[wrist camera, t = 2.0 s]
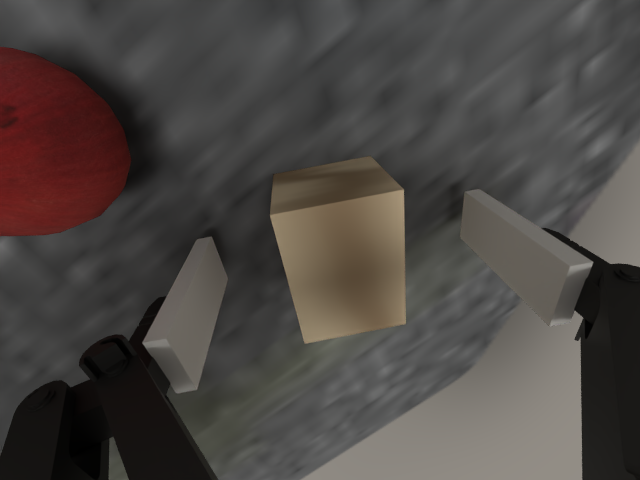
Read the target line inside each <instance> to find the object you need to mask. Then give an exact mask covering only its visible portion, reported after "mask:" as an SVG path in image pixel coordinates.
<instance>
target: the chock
mask: <svg viewBox="0 0 640 480" xmlns="http://www.w3.org/2000/svg"><path fill="white" fill-rule="evenodd" d="M270 217H271V221H272V225H273V228H274V232H275V236H276V240H277V243H278V247H279V251H280V254H281V258H282V262H283V265H284V269H285V273H286V276H287V280H288V284H289V287H290V291H291V295H292V298H293V302H294V306H295V309H296V313H297V317H298V321H299V324H300V328H301V332H302V335H303V339H304V343H305V344H307V343H312V342H317V341H322V340H327V339H332V338H337V337H342V336H347V335H352V334H357V333H362V332H368V331H373V330H378V329H383V328H388V327H393V326H398V325H403V324H406V297H405V231H404V189H403V188H402V187H401V186H400V185H399V184H398V183H397V182H396V181H395V180H394V179H393V178H392V177H391V176H390V175H389V174H388V173H387V172H386V171H385V170H384V169H383V168H382V167H381V166H380V165H379V164H378V163H377V162H376V161H375V160H374V159H373V158H372V157H371V156H367V157H362V158H357V159H351V160H346V161H341V162H336V163H330V164H325V165H320V166H314V167H309V168H304V169H299V170H293V171H288V172H283V173H277V174H273V186H272V197H271V208H270Z"/></svg>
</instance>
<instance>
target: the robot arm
mask: <svg viewBox="0 0 640 480" xmlns="http://www.w3.org/2000/svg"><path fill="white" fill-rule="evenodd" d="M460 238H461V239H462V240H463V241H464V242H465V243H466V244H467V245H468V246H469V247H470V248H471V249H472V250H473V251H474V252H475V253H476V254H477V255H478V256H479V257H480V258H481V259H482V260H483V261H484V262H485V263H486V264H487V265H488V266H489V267H490V268H491V269H492V270H493V271H494V272H495V273H496V274H497V275H498V276H499V277H500V278H501V279H502V280H503V281H504V282H505V283H506V284H507V285H508V286H509V287H510V288H511V289H512V290H513V291H514V292H515V293H516V294H517V295H518V296H519V297H520V298H521V299H522V300H523V301H524V302H525V303H526V304H527V305H528V306H529V307H530V308H531V309H532V310H533V311H534V312H535V313H536V314H537V315H538V316H539V317H541V319H542V320H543V321H544V322H545V323H546V324H547V325H548V326H555V325H561V324H566V323H570V321H571V318H572V316H573V313H574V311H576V312H578V313H579V314H580V315H581V316H582V317H583V320H582V323H581V325H580V327H579V330H578V332H577V335H576V337H575V340H577V341H578V340H579V339H580V337H581V397H582V398H581V401H582V402H581V404H582V479H583V480H640V267H637V266H632V265H628V264H609V263H608V262H606V261H604V260H603V259H601V258H600V257H598V256H596V255H595V254H593V253H591V252H590V251H588V250H587V249H585V248H583V247H582V246H579V245H578V244H577V243H575V242H573V241H570V239H569V238H567V237H565V236H564V235H562V234H560V233H559V232H556V231H553V230H550V229H547V228H540V227H538V226H537V225H535V224H533V223H532V222H530V221H529V220H527V219H526V218H524V217H522V216H521V215H519V214H518V213H516V212H515V211H513V210H512V209H510V208H508V207H507V206H505V205H504V204H502V203H501V202H499V201H497V200H496V199H494V198H493V197H491V196H490V195H488V194H487V193H485V192H483V191H482V190H480V189H476V190H470V191H465V193H464V202H463V212H462V222H461V231H460ZM227 281H228V277H227V274H226V272H225V269H224V267H223V264H222V262H221V259H220V257H219V254H218V251H217V249H216V246H215V244H214V241H213V239H212V237H206V238H201V239H197V240H196V242H195V244H194V246H193V247H192V249H191V251H190V253H189V255H188V257H187V259H186V261H185V263H184V265H183V266H182V268H181V270H180V272H179V274H178V276H177V278H176V280H175V282H174V284H173V285H172V287H171V289H170V291H169V293H168V295H167V296H165V297H159V298H158V299H157V300H156V301H154V302H153V303H152V304H151V305H150V306H149V308H148V309H147V311H146V313H145V314H144V316H143V317H144V318H142V320H141V321H140V323H139V326H138V327H137V328H136V330H135V332H134V333H133V335H132V337H131V339H130V340H129V342H128V340H127V339H126V337H124V336H123V335H112V336H108V337H106V338H103V339H101V340H99V341H98V342H96V343H95V344H93V345H92V346H90V347H89V348H88V349H87V350H86V351H85V352H84V353H83V355H82V357H81V358H80V360H79V366H80V368H81V369H82V370H83V371H84V372H85V373H86V374H87V376H88V377H89V378H90V380H88V381H85V382H83V383H81V384H78V385H76V386H73V387H71V388H70V387H69V386H68V385H67V384H66V383H65V382H63V381H62V380H60V381H53V382H50V383H47V384H45V385H43V386H41V387H39V388H38V389H36V390H35V391H33V392H32V393H31V394H29V395H28V396H27V397H26V398H25V399H24V400H23V401H22V402H21V403H20V405H19V406H18V408H17V409H16V411H15V413H14V416H13V419H12V422H11V425H10V428H9V432H8V435H7V438H6V441H5V444H4V447H3V450H2V453H1V456H0V480H108V473H109V438H111V437H114V439H115V442H116V445H117V448H118V450H119V453H120V456H121V459H122V461H123V464H124V467H125V470H126V472H127V475H128V478H129V480H218V478H217V477H216V475H215V474H214V472H213V470H212V469H211V467H210V465H209V464H208V462H207V460H206V459H205V457H204V456H203V454H202V452H201V451H200V449H199V447H198V446H197V444H196V442H195V441H194V439H193V438H192V436H191V434H190V433H189V431H188V429H187V428H186V426H185V424H184V423H183V421H182V420H181V418H180V416H179V415H178V413H177V411H176V410H175V408H174V406H173V405H172V403H171V402H170V400H169V398H168V397H167V396H166V393H167V391H168V388H169V385H171V386H172V388H173V389H174V391H175V392H176V394H177V393H183V392H188V391H194V390H197V388H198V385H199V381H200V378H201V374H202V370H203V367H204V363H205V360H206V356H207V353H208V349H209V345H210V342H211V338H212V335H213V331H214V328H215V324H216V321H217V317H218V313H219V310H220V306H221V303H222V299H223V296H224V292H225V288H226V285H227Z"/></svg>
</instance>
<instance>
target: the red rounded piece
mask: <svg viewBox="0 0 640 480" xmlns="http://www.w3.org/2000/svg"><path fill="white" fill-rule="evenodd" d="M130 163H131V156H130V152H129V148H128V144H127V140H126V136H125V133H124V129H123V128H122V126H121V124H120V123H119V121H118V119H117V118H116V116H115V114H114V113H113V111H112V109H111V108H110V106H109V105H108V104H107V103H106V102H105V100H103V99H102V98H101V97H100V96H99V95H98V94H97V93H96V92H94V91H93V90H92V89H91V88H90V87H89V86H88V85H87V84H86V83H84V82H83V81H82V80H81V79H80V78H79V77H78V76H77V75H75V74H74V73H72V72H70V71H68V70H66V69H64V68H62V67H60V66H58V65H56V64H54V63H52V62H50V61H48V60H46V59H44V58H42V57H40V56H38V55H36V54H32V53H28V52H25V51H21V50H17V49H13V48H6V47H0V236H30V235H48V234H54V233H60V232H63V231H65V230H67V229H70V228H72V227H75V226H77V225H79V224H82V223H84V222H87V221H89V220H91V219H94V218H96V217H98V216H100V215H101V214H102V213H103V212H104V211H105V210H106V209H107V208H108V207H109V206H110V205H111V204H112V202H113V201H114V200H115V199H116V198H117V197H118V196H119V195H120V193H121V192H122V190H123V189H124V187H125V184H126V180H127V176H128V172H129V168H130Z"/></svg>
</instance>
